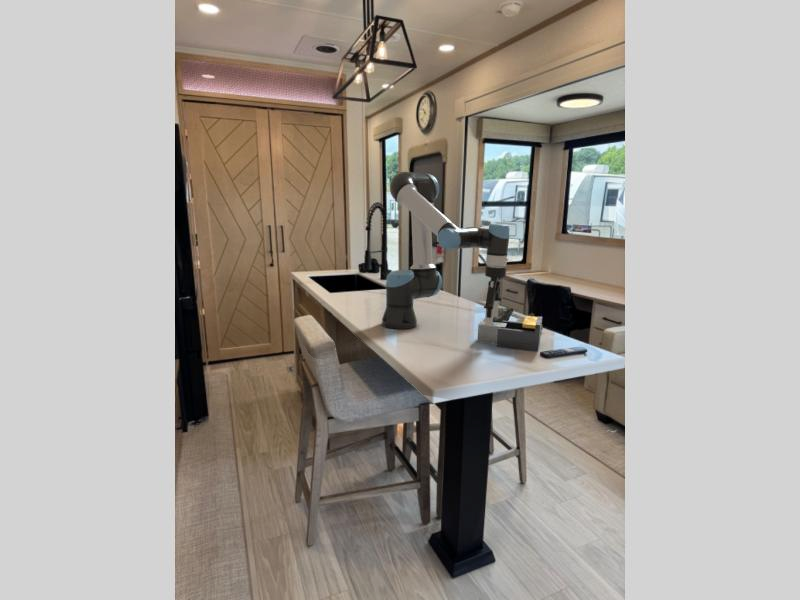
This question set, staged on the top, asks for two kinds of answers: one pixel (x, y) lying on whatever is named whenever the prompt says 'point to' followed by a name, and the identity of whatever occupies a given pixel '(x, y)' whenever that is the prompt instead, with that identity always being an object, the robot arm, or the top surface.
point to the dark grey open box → (521, 334)
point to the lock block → (489, 332)
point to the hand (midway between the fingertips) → (491, 321)
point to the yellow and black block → (529, 315)
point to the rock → (503, 314)
